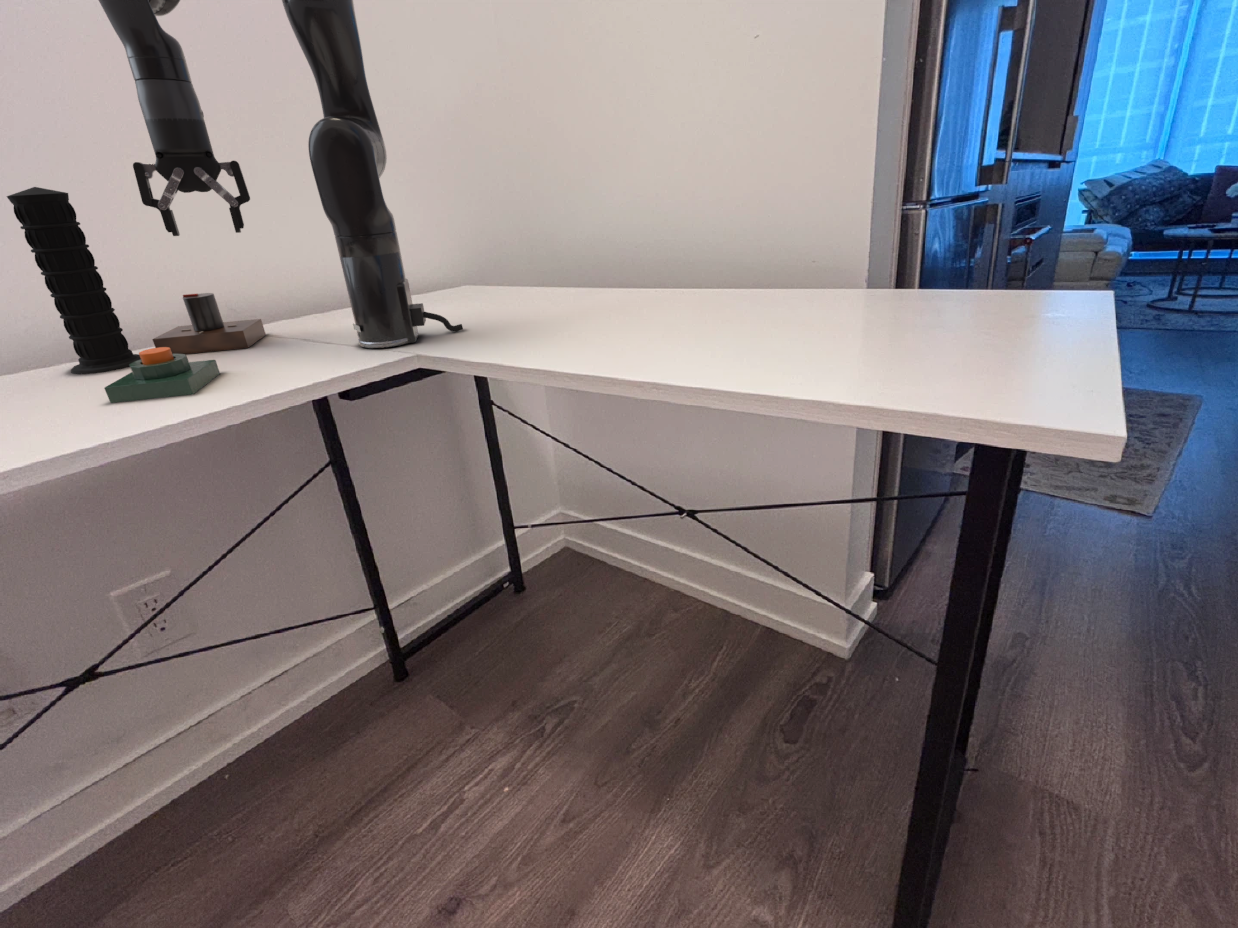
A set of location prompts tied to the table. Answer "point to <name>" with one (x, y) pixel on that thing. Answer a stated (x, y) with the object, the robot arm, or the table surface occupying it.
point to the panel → (212, 337)
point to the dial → (203, 311)
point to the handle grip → (72, 280)
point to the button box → (162, 379)
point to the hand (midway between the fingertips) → (208, 233)
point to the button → (156, 355)
